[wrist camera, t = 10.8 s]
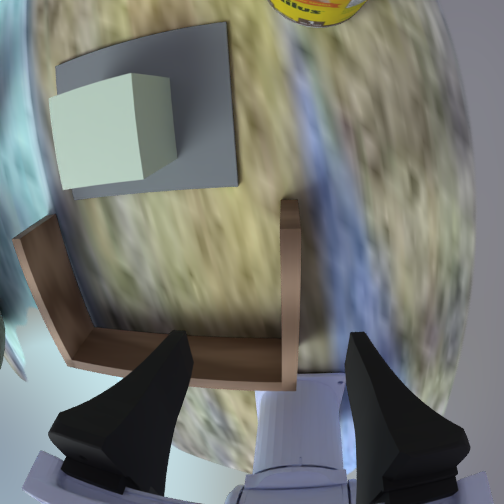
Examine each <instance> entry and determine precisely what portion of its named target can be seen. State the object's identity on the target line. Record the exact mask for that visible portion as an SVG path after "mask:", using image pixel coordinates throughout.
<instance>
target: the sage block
mask: <svg viewBox="0 0 504 504" xmlns="http://www.w3.org/2000/svg"><path fill="white" fill-rule="evenodd" d="M49 107H50V116H51V124H52V132H53V139H54V145H55V152H56V158H57V163H58V169H59V174H60V179H61V184H62V188H63V190H66V189H73V188H79V187H86V186H93V185H101V184H109V183H117V182H125V181H134V180H143V179H145V178H147V177H148V176H150V175H151V174H153V173H155V172H156V171H158V170H159V169H161V168H163V167H164V166H166V165H168V164H169V163H171V162H173V161H174V160H176V159H178V158H177V150H176V141H175V131H174V122H173V112H172V101H171V89H170V78H167V77H160V76H153V75H145V74H136V73H129V74H125V75H121V76H117V77H113V78H110V79H106V80H103V81H99V82H96V83H93V84H89V85H86V86H83V87H80V88H77V89H74V90H71V91H68V92H65V93H62V94H60V95H57V96H54V97H51V98H49Z"/></svg>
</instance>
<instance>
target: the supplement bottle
mask: <svg viewBox="0 0 504 504" xmlns="http://www.w3.org/2000/svg"><path fill="white" fill-rule="evenodd" d="M366 1H367V0H268V2H269V4H270V5H271V6H272V7H273V9H274V10H275V11H276V12H277V13H279V14H280V15H281V16H283V17H284V18H286V19H287V20H289V21H291V22H294V23H296V24H299V25H303V26H307V27H314V28H324V27H331V26H335V25H338V24H341V23H343V22H345V21H346V20H348V19H349V18H351V17H352V16H353V15H354V14H355V13H356V12H357V11H358V10H359V9H360V8H361V7H362V5H363V4H364V3H365V2H366Z"/></svg>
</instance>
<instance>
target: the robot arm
mask: <svg viewBox="0 0 504 504" xmlns="http://www.w3.org/2000/svg"><path fill="white" fill-rule="evenodd" d="M193 364H194V361H193V357H192V353H191V350H190V346H189V342H188V338H187V334H186V331H177V330H173V331H172V332H171V333H170V334H169V335H168V336H167V337H166V338H165V339H164V340H163V341H162V342H161V343H160V344H159V345H158V347H157V348H156V349H155V350H154V351H153V352H152V353H151V354H150V355H149V356H148V357H147V358H146V359H145V360H144V361H143V362H142V363H141V364H139V365H138V366H137V367H136V368H135V369H134V370H133V371H132V372H131V373H129V374H128V375H127V376H126V377H125V378H123V379H122V380H121V381H119V382H118V383H117V384H115V385H114V386H112V387H111V388H109V389H108V390H106V391H104V392H103V393H101V394H100V395H98V396H96V397H94V398H92V399H91V400H89V401H87V402H84V403H83V404H81V405H78V406H76V407H73V408H71V409H68V410H65V411H63V412H60V413H59V414H58V416H57V418H56V420H55V421H54V423H53V425H52V427H51V429H50V431H49V432H48V436H49V438H50V440H51V441H52V442H53V444H54V445H55V446H56V447H57V448H58V449H59V450H60V451H61V452H62V453H63V454H64V455H65V456H66V458H65V460H64V461H63V460H61V459H59V458H58V457H56V456H53V455H51V454H49V453H46V452H44V451H40V452H39V454H38V456H37V458H36V460H35V462H34V464H33V466H32V468H31V470H30V472H29V474H28V476H27V478H26V481H25V483H24V485H23V487H22V490H23V491H24V492H26V493H27V494H29V495H30V496H32V497H33V498H34V499H36V500H37V501H39V502H41V503H42V504H201V503H194V502H188V501H183V500H177V499H173V498H168V497H164V492H165V482H166V472H167V466H168V459H169V453H170V448H171V443H172V438H173V433H174V428H175V425H176V421H177V418H178V415H179V412H180V409H181V407H182V404H183V401H184V398H185V395H186V392H187V389H188V386H189V383H190V379H191V375H192V370H193ZM345 384H346V386H347V391H348V396H349V401H350V406H351V411H352V416H353V422H354V428H355V437H356V459H357V480H356V479H351V480H348V482H347V476H346V470H345V469H343V455H342V442H341V431H340V420H339V409H340V405H341V400H342V396H343V392H344V388H345ZM255 396H256V406H257V416H258V429H257V438H256V447H255V456H254V465H253V473H252V474H248V475H246V479H245V485H238V486H236V487H235V488H234V489H233V490H232V491H231V492H230V493H229V494H228V496H227V498H226V500H225V504H494V502H493V498H492V494H491V490H490V486H489V482H488V479H487V475H486V472H485V471H482V472H479V473H476V474H474V475H471V476H468V477H465V478H463V479H460V480H458V481H456V477H455V476H456V475H457V474H458V471H457V465H458V464H459V463H460V462H461V461H462V460H463V459H464V458H465V457H466V456H467V454H468V453H469V451H470V445H469V442H468V438H467V436H466V433H465V431H464V429H463V428H461V427H460V426H458V425H456V424H454V423H452V422H451V421H449V420H447V419H445V418H444V417H442V416H441V415H439V414H438V413H436V412H435V411H434V410H432V409H431V408H430V407H429V406H427V405H426V404H425V403H424V402H422V401H421V400H420V399H419V398H418V397H417V396H415V395H414V394H413V393H412V392H411V391H410V390H409V389H408V388H407V387H406V386H405V385H404V384H403V383H402V381H401V380H400V379H399V378H398V377H397V376H396V375H395V373H394V372H393V371H392V370H391V369H390V367H389V366H388V365H387V363H386V362H385V361H384V359H383V358H382V357H381V355H380V354H379V352H378V351H377V350H376V348H375V347H374V345H373V344H372V342H371V341H370V339H369V338H368V336H367V334H366V333H365V332H350V338H349V344H348V349H347V355H346V360H345V373H319V374H297V386H296V391H255Z"/></svg>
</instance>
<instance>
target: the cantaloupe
mask: <svg viewBox="0 0 504 504" xmlns="http://www.w3.org/2000/svg"><path fill="white" fill-rule="evenodd" d="M4 350H5V326H4V321H3V317H2V314H1V312H0V369H1V366H2V361H3V356H4Z"/></svg>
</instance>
